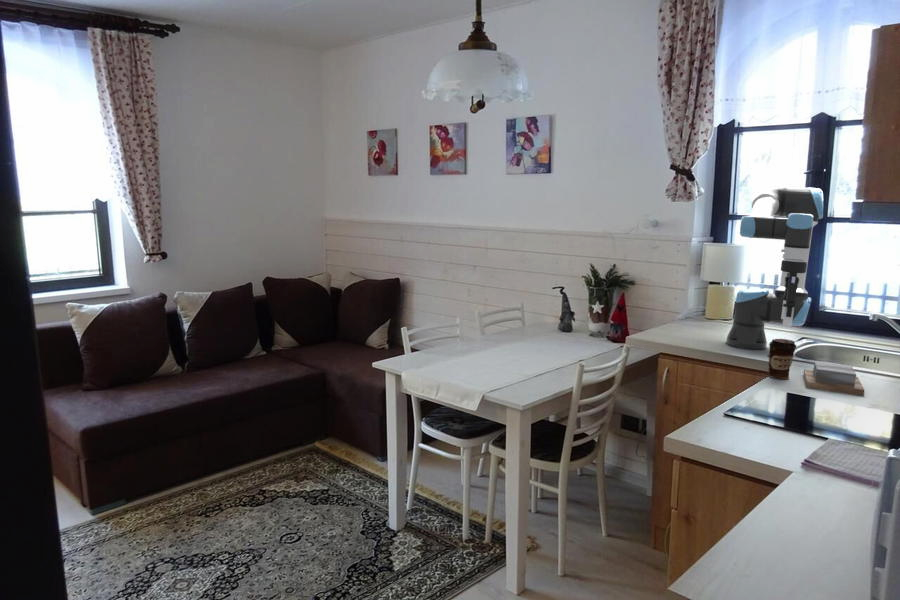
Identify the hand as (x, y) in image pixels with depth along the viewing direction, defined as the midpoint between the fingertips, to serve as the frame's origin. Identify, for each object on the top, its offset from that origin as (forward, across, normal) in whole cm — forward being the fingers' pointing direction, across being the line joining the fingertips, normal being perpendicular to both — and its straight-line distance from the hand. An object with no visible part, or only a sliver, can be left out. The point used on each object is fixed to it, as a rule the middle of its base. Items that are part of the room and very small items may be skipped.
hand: (786, 322), depth 219 cm
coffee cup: (+19, 0, 0) cm, 19 cm away
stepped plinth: (+19, 0, +16) cm, 25 cm away
